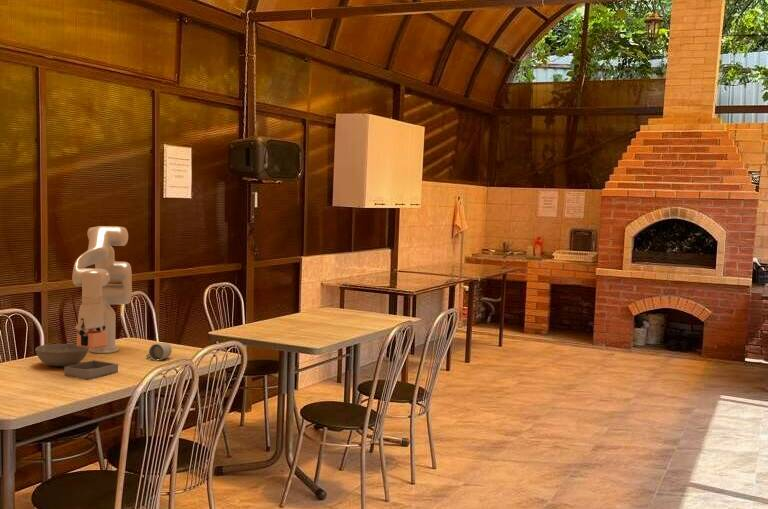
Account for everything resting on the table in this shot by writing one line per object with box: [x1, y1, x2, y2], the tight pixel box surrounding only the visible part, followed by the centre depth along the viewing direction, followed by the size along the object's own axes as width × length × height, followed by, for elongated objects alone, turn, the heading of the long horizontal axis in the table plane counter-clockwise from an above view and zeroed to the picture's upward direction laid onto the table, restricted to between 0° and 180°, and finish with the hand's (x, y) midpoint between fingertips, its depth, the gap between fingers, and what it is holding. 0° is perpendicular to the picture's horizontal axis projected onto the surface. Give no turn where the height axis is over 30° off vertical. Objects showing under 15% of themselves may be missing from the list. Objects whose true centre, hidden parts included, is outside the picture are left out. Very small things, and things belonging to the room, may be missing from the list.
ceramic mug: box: [145, 342, 172, 361], centre depth 338 cm, size 11×8×8 cm
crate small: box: [76, 329, 107, 350], centre depth 304 cm, size 9×7×6 cm
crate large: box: [63, 359, 119, 380], centre depth 305 cm, size 13×15×4 cm
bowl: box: [34, 343, 90, 367], centre depth 319 cm, size 21×21×8 cm
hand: (91, 343), depth 305 cm, fingers closed on crate small, 7 cm apart
